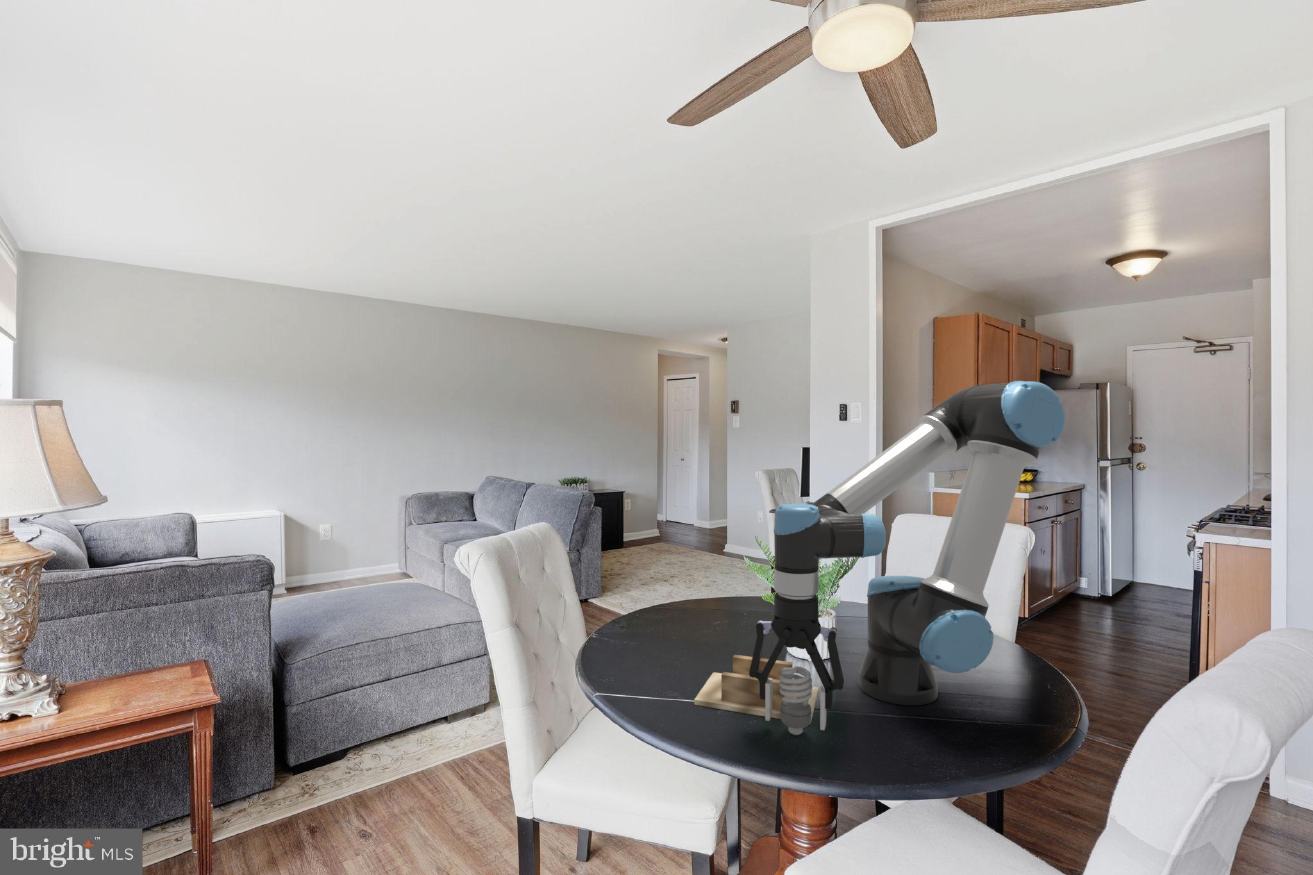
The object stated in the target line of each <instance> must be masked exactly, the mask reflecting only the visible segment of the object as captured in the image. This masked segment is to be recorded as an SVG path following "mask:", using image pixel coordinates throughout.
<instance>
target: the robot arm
mask: <svg viewBox="0 0 1313 875" xmlns="http://www.w3.org/2000/svg"><path fill="white" fill-rule="evenodd" d="M1065 423H1066V413H1065V408H1064V405H1063V403H1062V402H1061V401H1060V398H1059V396H1058V394H1057V393H1056V392H1055V390H1053V389H1052V387H1050V386H1048V385H1047V384H1044V383H1042V382H1039V381H1024V380H1014V381H1011V382H1010V381H1009V382H1002V383H990V384H989V383H988V384H987V383H986V384H975V385H971V386H969V387H966V388H964V389H962V390H960V391H958V392H956V393H954V394H953V395H951V396H949V397H947V398H946V399H944V400H943V401H942V402H940V403H939V404H937V405H936V406H934V407H933V408H932V409H930V410H929V411H927V412H926V413H925V414H924V415H922V416H921V417H920V418H919V419H918V422H917V424H918V425H917V426H916V427H915V428H913V429H912V430H910V431H909V432H907V433H906V434H905V435H904V436H902V437H901V438H900V439H898V440H897V441H895V442H894V443H892V444H891V445H890V446H889V447H888V448H886V449H885V450H884V451H882V452H881V453H879V454H878V455H877V456H875V457H874V458H873V459H871V460H870V461H868V462H867V463H866V464H864V465H863V466H861V468H859V469H858V470H856V471H855V472H854V473H852V474H851V475H850V476H848V477H847V478H845V480H842V481H841V482H840V483H838V484H837V485H836V486H835V487H834V488H832V489H830V490H829V491H828V492H827V493H825V494H824V495H823V496H821V497H820V498H818V499H817V500H815V501H814V502H813V501H810V502H809V501H808V502H803V503H795V502H793V503H783V504H780V505H778V506H777V507H776V509H775V513H774V522H773V523H774V524H773V536H774V537H773V538H774V539H773V540H774V541H773V542H774V545H773V546H774V547H773V548H774V567H773V568H774V569H773V570H774V571H773V573H774V574H773V577H774V578H773V586H774V587H773V589H774V591H775V593H774V595H773V597H774V598H773V599H774V600H773V612H774V613H773V618H772V620H771V621H770V620H769V621H765V620H764V619H759V620H758V621H757V623H756V625H755V629H756V630H755V631H756V641H755V645H754V649H753V653H752V656H751V657H752V662H751V666H750V671H749V675H750V677H755V678H757V679H758V680H759V683H760V699H764V700H765V716H764V717H765V720H764V721H766V722H767V721H768V722H770V721H771V719H772V718H771V716H772V678H768V675H769V673H770V672H771V670H772V668H773V666H774V664H775V662H776V660H778V658H779V656H780V654H781V652H782V651H783V648H784V647H786V648H796V649H799V650H805V651H806V653H807V655H808V656H809V658H810V660H811V662H812V665H813V667H814V669H815V671H816V674H817V675H818V677H819V679H820V682H821V687H820V691H819V693H820V694H819V695H820V698H819V701H820V708H819V709H820V711H819V720H820V721H819V728H820V729H819V730H820V731H825V730H826V726H827V711H828V710H830V711H831V710H832V709H833V705H834V703H833V702H834V691H836V690H838V691H842V690H843V689H844V684H845V679H844V675H843V670H842V665H841V661H840V656H839V652H838V651H839V650H838V646H837V642H836V640H837V635H838V629H837V628H836V627H833V626H832V627H831V628H829V627H825V626H822V625H821V623H820V621H819V596H818V595H817V594H818V593H819V564H820V563H819V562H820V560H821V559H844V558H845V559H846V558H848V559H849V558H852V559H853V558H861V559H864V558H867V557H875V556H879V555H881V553H882V552H883V551H884V550H885V547H886V544H887V543H886V542H887V533H886V532H887V530H886V528H885V525H884V522H883V521H882V519H881V517H879V516H878V515H876V514H873V513H872V514H871V513H868V514H867V512H868V511H869V510H871V509H872V508H873V507H875V506H876V505H878V504H879V503H880V502H882V501H883V500H885V499H886V498H887V497H888V496H890V495H892V494H893V492H895V491H896V490H897V489H899V488H900V487H902V486H903V485H904V484H906V483H907V482H908V481H910V480H911V479H913V478H914V477H915V476H917V475H918V474H920V473H921V472H922V471H923V470H925V469H926V468H928V467H929V466H930V465H932V463H934V462H936V460H938V459H940V458H941V457H942V456H943V455H945V456H952V455H954V454H955V453H957V452H958V451H959V450H960V449H962V448H964V447H968V448H969V449H970V452H971V453H972V456H971V459H970V462H969V466H968V468H967V472H966V474H965V477H964V481H963V484H962V487H961V490H960V493H959V494H958V499H957V502H956V505H955V507H954V510H953V514H952V517H951V520H950V523H949V526H948V528H947V531H946V535H945V537H944V540H943V543H942V547H941V550H940V552H939V555H938V558H937V562H936V565H935V567H934V569H933V570H934V571H933V574H932V575H930V576H929V577H926V578H924V577H918V576H911V575H909V576H908V575H885V576H883V575H882V576H877V577H873V578H871V579H870V580H869V581H868V585H867V594H866V597H867V646H866V652H865V655H864V657H863V660H862V663H861V665H860V668H859V670H858V671H859V672H858V683H857V684H858V688H860V690H861V691H862V692H864V694H866V695H867V696H870V697H872V698H874V699H877V700H879V701H882V702H885V703H890V704H894V705H901V706H922V705H927V704H931V703H933V702H935V701H936V700H937V699H938V697H939V695H938V694H939V692H938V690H939V687H938V686H939V685H938V682H937V677H936V675H935V672H934V668H933V667H936V668H938V669H939V670H942V671H945V672H947V673H951V674H962V673H967V672H970V671H971V670H972V669H976V668H978V667H979V666H980V665H982V663H984V662H985V661H986V659H987V658H988V657H989V654H990V653H991V651H992V649H993V646H994V632H993V630H992V625H991V623H990V622H989V621H988V619H987V618H986V616H987V613H988V609H989V606H990V605H989V603H988V601H987V599H986V598H985V596H984V590H985V587H986V584H987V582H988V578H989V575H990V572H991V569H992V566H993V563H994V560H995V557H996V553H997V550H998V548H999V545H1000V542H1001V539H1002V536H1003V533H1004V531H1005V530H1004V529H1005V526H1006V523H1007V520H1008V518H1009V515H1010V511H1011V509H1012V508H1011V507H1012V505H1013V502H1014V499H1015V496H1016V493H1017V490H1018V487H1019V484H1020V480H1021V478H1022V474H1023V472H1024V469H1025V468H1027V467H1028V466H1030V465H1033V464H1035V463H1037V461H1038V458H1039V454H1040V451H1041V449H1042V448H1044V447H1046V446H1050V445H1051V444H1053V442H1056V441H1057V440H1058V439H1059V438H1060V436H1061V435H1062V433H1063V432H1064V431H1063V430H1064V429H1065ZM771 629H772V630H773V632H774V634H775V635H776V637H777V639H778V641H777V642H776V644H775V647H774V648H773V650H772V653H771V654H770V656H769V658H768V659H769V660H768V661H767V663H766V665H765V667H764V669H763V671H762V670H760V669H759V665H760V660H761V658H762V656H763V652H764V651H763V650H764V647H765V646H764V645H765V642H766V637H767V635H768V634H769V632H770V630H771ZM819 635H822V637H823V640H824V641H825V642H827V645H826V646H827V652H828V656H829V661H830V665H831V670H832V675H833V679H832V677H831V675H830V673H829V671H828V669H827V666H826V664H825V662H824V660H823V657H822V656H821V654H820V651H819V649H818V646H817V644H816V641H815V640H816V639H817V638H818V637H819Z"/></svg>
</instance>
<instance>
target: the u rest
mask: <svg viewBox="0 0 1313 875" xmlns="http://www.w3.org/2000/svg"><path fill="white" fill-rule="evenodd" d="M752 657H753V656H748V655H741V654H740V655H739V654H734V655H733V656H732V672H728V671H727V672H726V671H723V672H721V673H720V672H712V674H711V675H709V678H708V679H707V680H706V682H705V683H704V685H703V686H702V688H700V691H699V692H698V693H697V695H696V697H695V698H694V699H693V701H694V702H693V704H694V706H700V707H706V708H710V709H711V708H712V709H719V710H723V711H730V712H737V713H741V714H747V715H752V716H761V717H765V700H764V699H760V683H759V680H758V679H757V678H755V677H750V675H749V671H750V666H751V662H752ZM768 660H769V658H762V657H761V660H760V665H759V669H760V670H762V671H763V669H764V667H765V665H766V663H767V661H768ZM783 668H793V661H792V662H791V661H785V660H784V661H783V660H778V659H777V660H776V662H775V664H774V666H773V668H772V670H771V672H770V673H769V675H768V678H772V716H771V719H773V718H774V719H777V720H778V719H779V720H781V714H780V704H781V702H782V701H783V700H782V698H783V697H786V698H790V699H798V698H802V697H804V696H800V697H788V696H784V695H782V694H781V693H780V688H781V687H780V686H779V683H780V682H781V680H780V676H781V675H782V673H781V669H783ZM788 679H793V678H788ZM803 683H804V682H803ZM804 684H805V683H804ZM786 685H789V686H796V685H791V684H786ZM803 690H805V689H803ZM811 691H812V695H811V697H810V698H809V701H808V704H809V705H810V706H811V720H810V724H812V719H813V715H814V712H815V708H816V703H817V700H818V696H819V687H818V686H812V690H811ZM786 692H793V691H786ZM810 724H809V725H810Z"/></svg>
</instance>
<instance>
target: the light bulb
mask: <svg viewBox="0 0 1313 875" xmlns="http://www.w3.org/2000/svg"><path fill="white" fill-rule="evenodd" d="M781 673H782V675H781V676H780V680H781V682H780V683H779V686H780V687H781V688H780V693H781V694H782V695H784V696H788V697H800V696H804V697H802V698H798V699H790V698H786V697H783V698H782V700H783V701H782V702H781V704H780V714H781V719H780V721H781V722H782V724H784V725H785V726H786V727H788V732H789V733H790V734H792V735H794V736H799V735H801V734H802V733H803V732H804V728H807V727H808V726H809V725H810V720H811V706H810V705H809V704H808V701H809V698H810V697H811V695H812V691H811V690H812V687H813V684H812V683H813V679H812V673H811V672H810V670H808V669H807V668H805V667H803V666H799V665H798V666H797V665H796V666H795V667H792V668H783V669H781ZM788 678H792V679H788ZM803 682H804V683H805V684H804V683H803ZM786 684H791V685H796V686H789V685H786ZM803 689H805V690H803ZM786 691H793V692H786ZM811 721H812V720H811Z"/></svg>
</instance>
